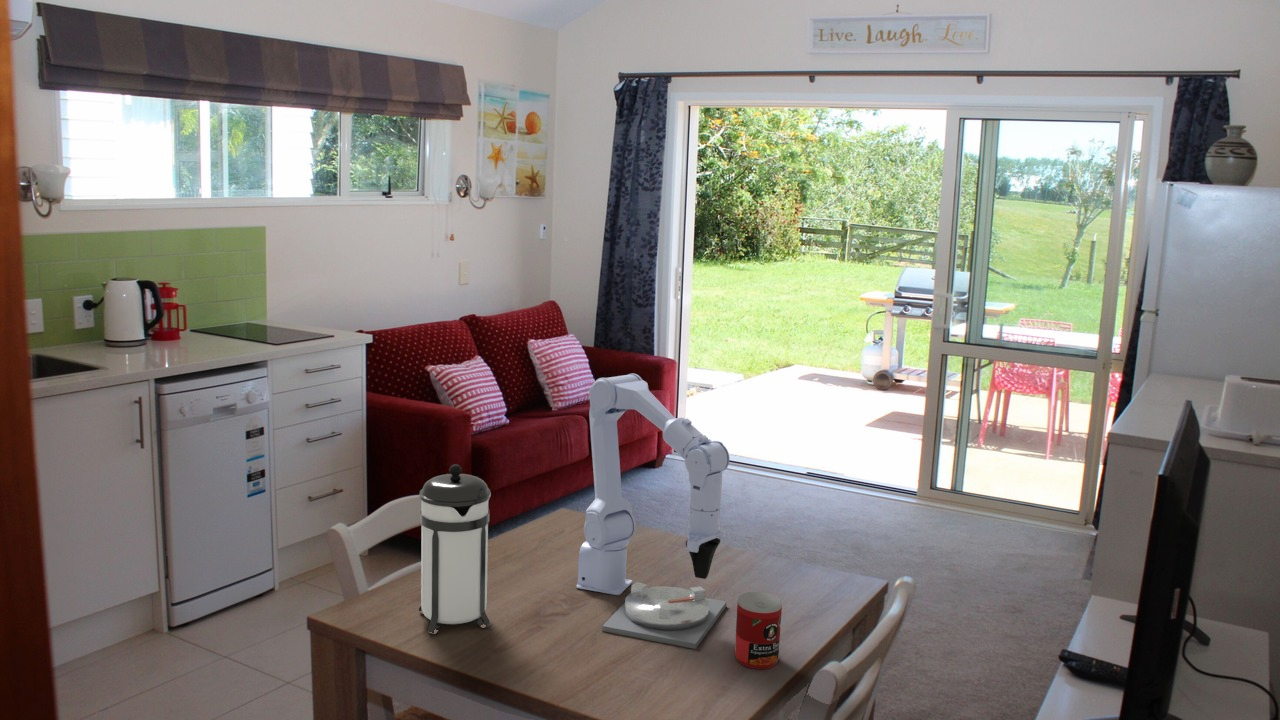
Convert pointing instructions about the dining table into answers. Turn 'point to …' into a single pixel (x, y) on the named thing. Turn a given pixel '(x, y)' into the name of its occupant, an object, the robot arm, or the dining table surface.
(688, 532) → the robot arm
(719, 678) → the dining table surface
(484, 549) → the coffee press
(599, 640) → the dining table surface
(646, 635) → the slate base plate
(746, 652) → the canned food
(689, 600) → the round dial
